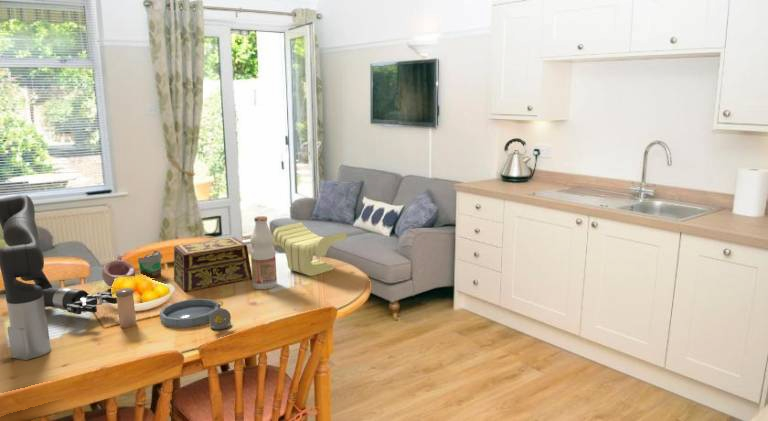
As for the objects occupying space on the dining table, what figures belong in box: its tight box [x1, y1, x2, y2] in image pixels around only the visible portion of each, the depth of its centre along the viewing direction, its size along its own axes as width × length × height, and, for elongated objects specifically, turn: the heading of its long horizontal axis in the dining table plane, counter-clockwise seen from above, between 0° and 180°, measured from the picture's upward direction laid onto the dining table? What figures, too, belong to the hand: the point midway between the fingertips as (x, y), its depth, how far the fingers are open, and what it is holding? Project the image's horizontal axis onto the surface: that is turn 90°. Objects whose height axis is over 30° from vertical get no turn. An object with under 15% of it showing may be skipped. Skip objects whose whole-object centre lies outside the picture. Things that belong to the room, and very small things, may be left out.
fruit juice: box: [250, 215, 278, 290], centre depth 225 cm, size 9×9×28 cm
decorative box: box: [173, 236, 253, 293], centre depth 236 cm, size 28×19×15 cm
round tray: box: [159, 298, 219, 328], centre depth 198 cm, size 19×19×3 cm
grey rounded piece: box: [209, 301, 232, 330], centre depth 187 cm, size 8×8×10 cm
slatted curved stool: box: [272, 221, 347, 277], centre depth 246 cm, size 30×16×18 cm, turn 47°
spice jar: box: [115, 287, 137, 329], centre depth 190 cm, size 5×5×12 cm
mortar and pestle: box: [101, 259, 136, 288], centre depth 228 cm, size 12×12×11 cm
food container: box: [137, 250, 163, 280], centre depth 241 cm, size 12×6×10 cm, turn 168°
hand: (106, 304), depth 193 cm, fingers open, 8 cm apart
